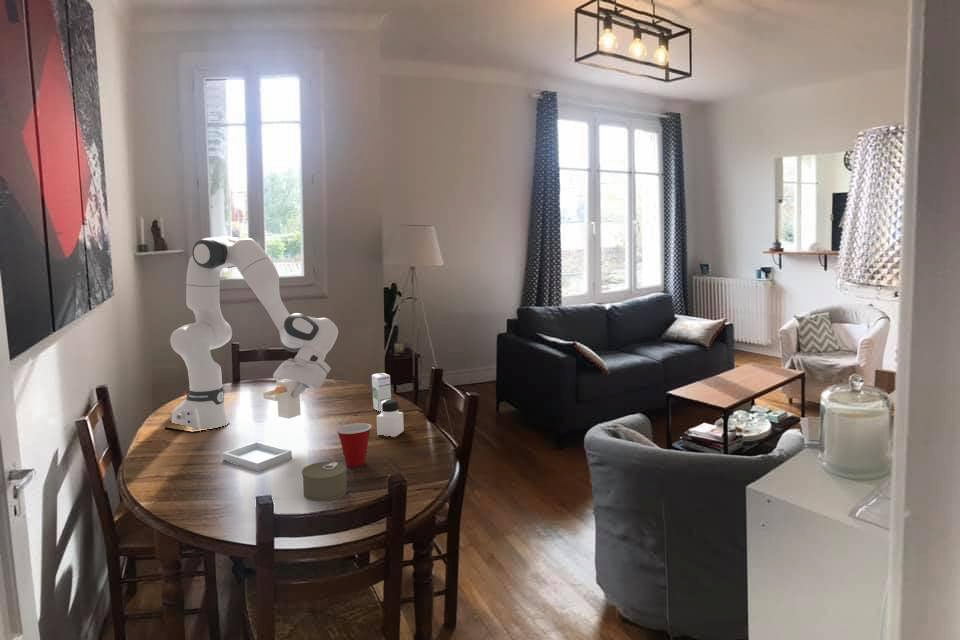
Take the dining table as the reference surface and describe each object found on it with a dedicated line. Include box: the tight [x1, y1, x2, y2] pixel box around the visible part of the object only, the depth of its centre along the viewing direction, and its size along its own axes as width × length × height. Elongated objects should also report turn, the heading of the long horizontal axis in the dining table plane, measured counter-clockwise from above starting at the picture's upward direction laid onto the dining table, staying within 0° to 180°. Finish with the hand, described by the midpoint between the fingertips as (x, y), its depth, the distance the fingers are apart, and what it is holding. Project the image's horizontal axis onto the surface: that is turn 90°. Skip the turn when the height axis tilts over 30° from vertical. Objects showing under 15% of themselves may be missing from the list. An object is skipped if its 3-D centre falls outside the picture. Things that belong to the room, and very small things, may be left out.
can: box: [301, 461, 348, 503], centre depth 178 cm, size 12×12×7 cm
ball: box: [274, 385, 285, 394], centre depth 208 cm, size 3×3×3 cm
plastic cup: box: [335, 422, 372, 468], centre depth 199 cm, size 11×11×12 cm
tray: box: [222, 441, 293, 472], centre depth 204 cm, size 17×13×2 cm
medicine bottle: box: [376, 398, 405, 438], centre depth 228 cm, size 7×7×12 cm
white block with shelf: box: [263, 378, 302, 419], centre depth 211 cm, size 10×6×12 cm, turn 147°
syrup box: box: [371, 372, 392, 413], centre depth 257 cm, size 6×6×14 cm
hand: (286, 395), depth 212 cm, fingers closed on white block with shelf, 5 cm apart
